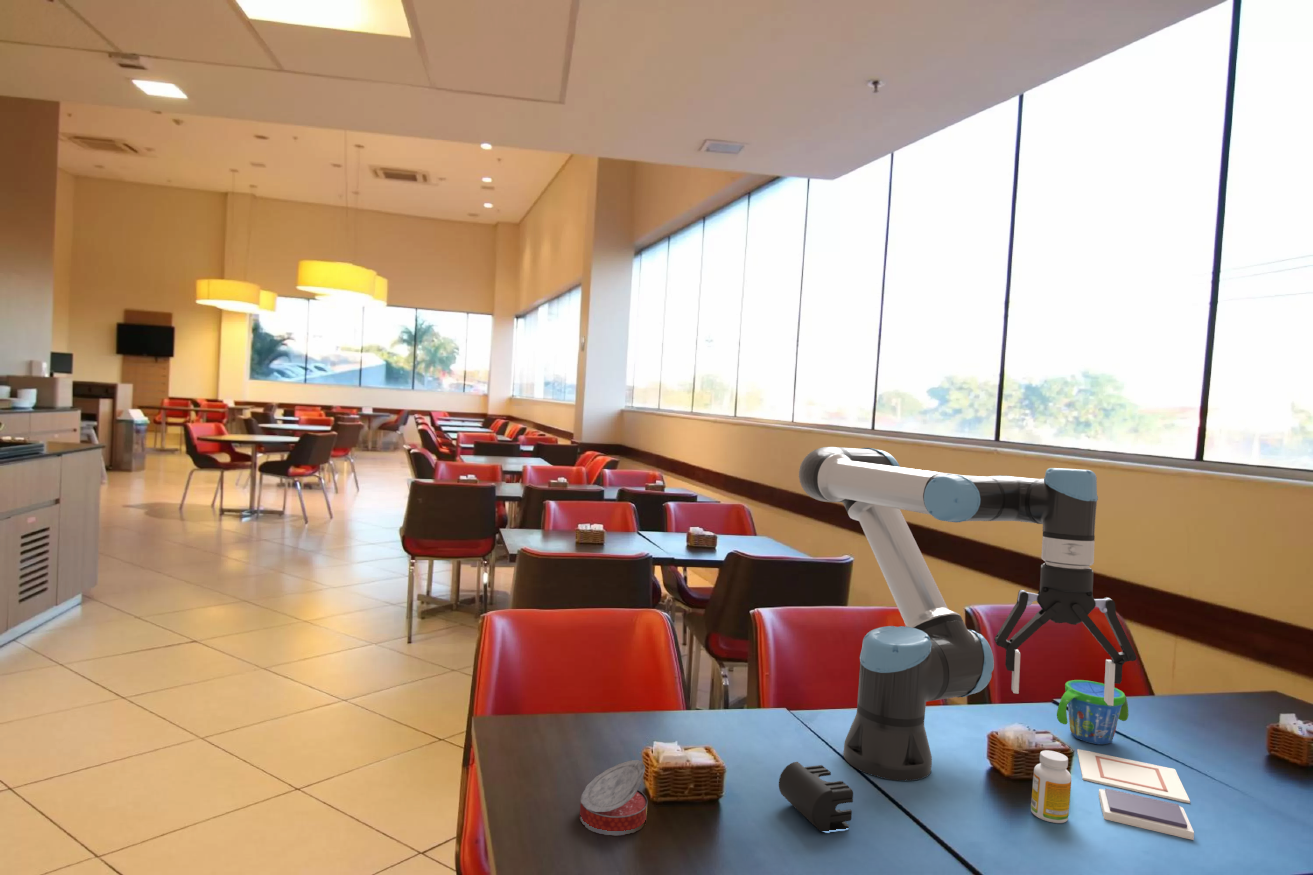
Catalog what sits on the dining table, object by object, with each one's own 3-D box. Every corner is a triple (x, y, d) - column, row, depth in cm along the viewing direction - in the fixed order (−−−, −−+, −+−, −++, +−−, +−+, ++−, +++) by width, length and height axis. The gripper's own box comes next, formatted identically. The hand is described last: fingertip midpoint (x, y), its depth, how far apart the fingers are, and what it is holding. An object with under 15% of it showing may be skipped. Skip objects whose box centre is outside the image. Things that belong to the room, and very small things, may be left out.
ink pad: (1104, 818, 127) (1105, 807, 127) (1098, 795, 136) (1099, 784, 136) (1193, 839, 123) (1194, 828, 123) (1182, 814, 131) (1183, 803, 131)
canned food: (631, 867, 114) (629, 823, 109) (568, 842, 117) (563, 798, 112) (661, 801, 123) (661, 757, 118) (602, 779, 126) (599, 736, 121)
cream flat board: (1082, 779, 142) (1083, 776, 142) (1077, 750, 154) (1077, 748, 154) (1189, 803, 135) (1190, 800, 135) (1174, 771, 148) (1175, 768, 148)
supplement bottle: (1075, 819, 127) (1080, 758, 126) (1055, 827, 124) (1061, 765, 123) (1042, 804, 131) (1047, 745, 131) (1023, 811, 128) (1028, 751, 128)
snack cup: (1073, 749, 155) (1077, 697, 154) (1038, 727, 165) (1043, 678, 165) (1145, 749, 157) (1149, 698, 157) (1106, 727, 168) (1111, 679, 167)
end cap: (776, 805, 125) (779, 762, 125) (815, 799, 128) (818, 758, 127) (810, 838, 116) (814, 792, 116) (852, 832, 118) (855, 787, 118)
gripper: (985, 560, 129) (979, 692, 129) (1163, 575, 121) (1156, 715, 121) (981, 554, 136) (975, 679, 136) (1148, 568, 129) (1142, 700, 129)
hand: (1061, 697), depth 129 cm, fingers open, 13 cm apart
